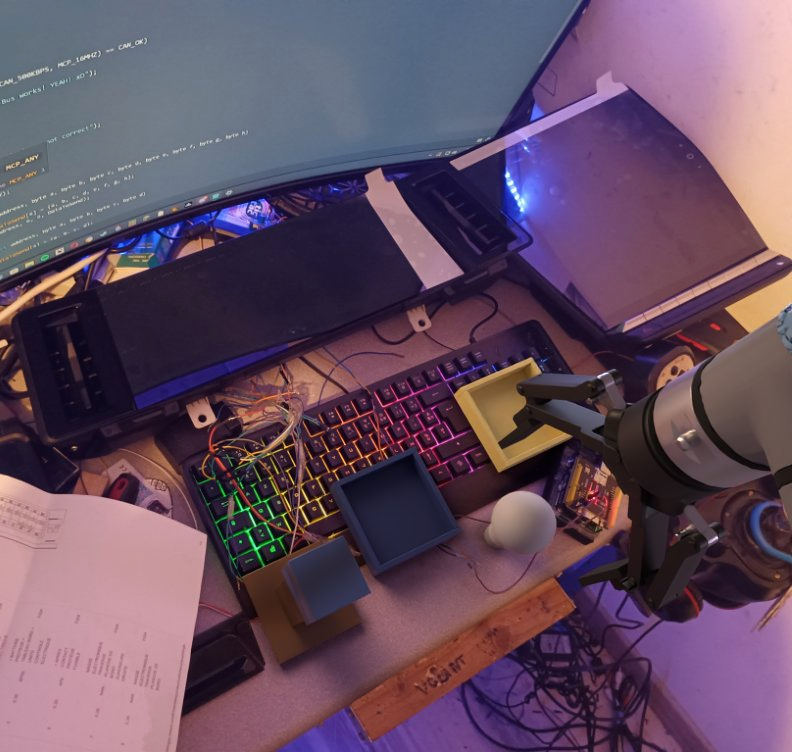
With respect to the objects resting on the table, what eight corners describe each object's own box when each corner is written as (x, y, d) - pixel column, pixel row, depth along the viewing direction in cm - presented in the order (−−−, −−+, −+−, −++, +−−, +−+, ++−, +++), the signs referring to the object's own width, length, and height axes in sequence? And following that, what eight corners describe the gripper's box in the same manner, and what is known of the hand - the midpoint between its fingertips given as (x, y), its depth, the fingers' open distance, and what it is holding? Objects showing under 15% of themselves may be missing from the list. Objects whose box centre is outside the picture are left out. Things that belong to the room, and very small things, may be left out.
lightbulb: (462, 560, 76) (504, 540, 66) (467, 504, 79) (507, 478, 69) (518, 572, 77) (567, 554, 67) (520, 516, 79) (568, 491, 69)
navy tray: (453, 536, 77) (462, 532, 75) (372, 577, 74) (378, 573, 72) (408, 453, 80) (414, 446, 78) (328, 489, 78) (332, 483, 75)
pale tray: (568, 439, 84) (579, 432, 81) (497, 473, 81) (507, 467, 78) (522, 365, 87) (531, 356, 85) (452, 396, 84) (460, 387, 82)
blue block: (358, 599, 62) (371, 592, 57) (306, 625, 60) (316, 620, 56) (332, 546, 63) (343, 535, 59) (281, 570, 62) (288, 560, 57)
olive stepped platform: (358, 623, 72) (389, 611, 61) (278, 664, 70) (295, 660, 59) (319, 541, 75) (341, 516, 64) (241, 578, 73) (250, 558, 62)
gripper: (551, 292, 49) (448, 403, 68) (784, 647, 41) (594, 658, 61) (635, 258, 51) (512, 375, 70) (872, 590, 43) (660, 618, 63)
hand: (549, 506), depth 65 cm, fingers open, 13 cm apart
